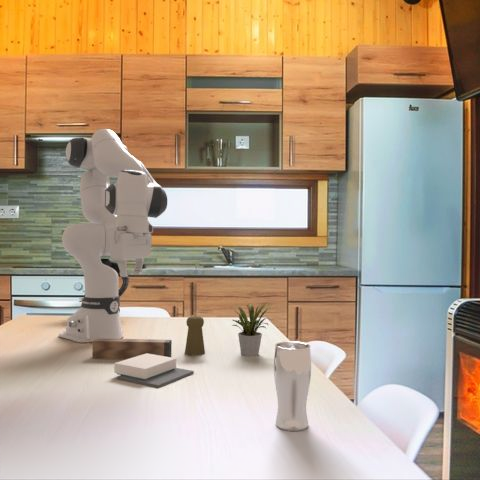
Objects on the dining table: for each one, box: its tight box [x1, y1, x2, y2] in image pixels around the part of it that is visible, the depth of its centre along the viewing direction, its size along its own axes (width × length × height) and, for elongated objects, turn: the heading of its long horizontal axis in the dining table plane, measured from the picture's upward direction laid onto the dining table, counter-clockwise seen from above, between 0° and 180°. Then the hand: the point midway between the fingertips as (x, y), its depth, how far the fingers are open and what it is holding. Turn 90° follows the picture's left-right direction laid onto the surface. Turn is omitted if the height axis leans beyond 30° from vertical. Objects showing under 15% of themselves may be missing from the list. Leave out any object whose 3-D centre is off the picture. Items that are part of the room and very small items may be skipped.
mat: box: [116, 367, 195, 389], centre depth 122 cm, size 13×14×1 cm
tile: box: [113, 353, 177, 380], centre depth 124 cm, size 3×12×10 cm
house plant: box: [230, 300, 277, 358], centre depth 146 cm, size 14×14×16 cm
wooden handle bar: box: [91, 338, 173, 360], centre depth 140 cm, size 22×4×5 cm, turn 88°
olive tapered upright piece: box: [184, 315, 206, 356], centre depth 147 cm, size 6×6×11 cm
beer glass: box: [273, 341, 312, 432], centre depth 92 cm, size 7×7×15 cm
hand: (131, 275), depth 139 cm, fingers open, 8 cm apart
